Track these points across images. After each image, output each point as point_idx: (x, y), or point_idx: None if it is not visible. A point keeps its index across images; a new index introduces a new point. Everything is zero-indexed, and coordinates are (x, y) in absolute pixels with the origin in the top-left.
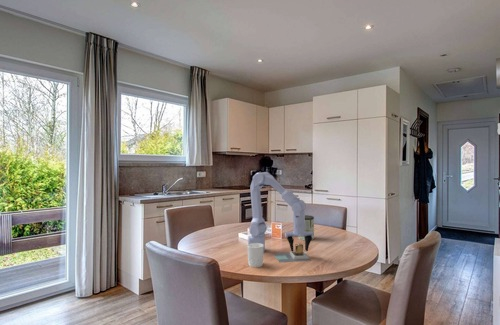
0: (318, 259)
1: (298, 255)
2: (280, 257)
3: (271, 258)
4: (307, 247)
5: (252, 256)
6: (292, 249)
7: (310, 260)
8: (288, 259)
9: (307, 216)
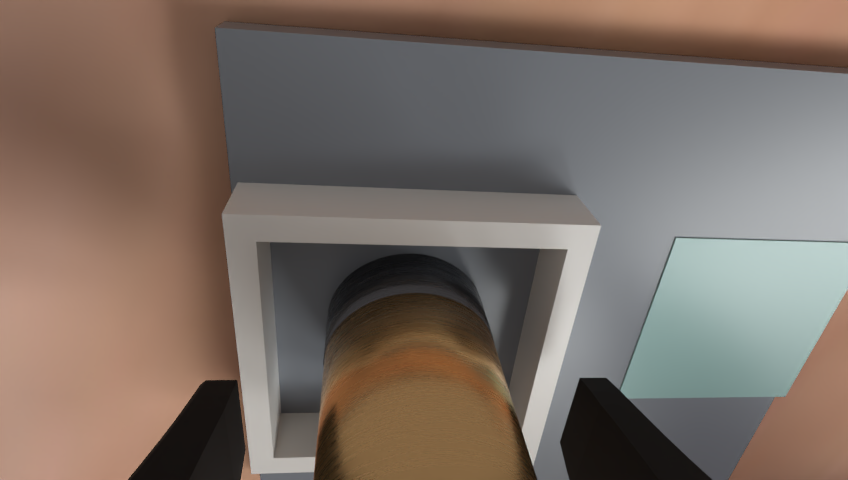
0: (11, 176)
1: (458, 290)
2: (752, 326)
3: (831, 355)
4: (185, 446)
5: None
6: (630, 409)
7: (238, 51)
8: (684, 213)
9: None
